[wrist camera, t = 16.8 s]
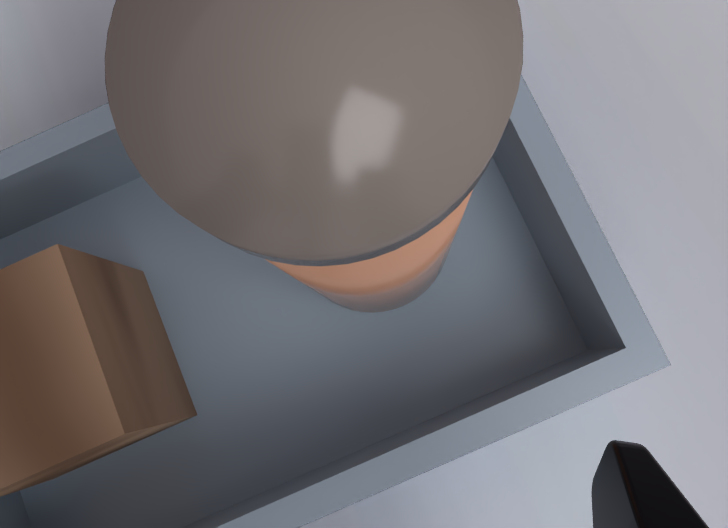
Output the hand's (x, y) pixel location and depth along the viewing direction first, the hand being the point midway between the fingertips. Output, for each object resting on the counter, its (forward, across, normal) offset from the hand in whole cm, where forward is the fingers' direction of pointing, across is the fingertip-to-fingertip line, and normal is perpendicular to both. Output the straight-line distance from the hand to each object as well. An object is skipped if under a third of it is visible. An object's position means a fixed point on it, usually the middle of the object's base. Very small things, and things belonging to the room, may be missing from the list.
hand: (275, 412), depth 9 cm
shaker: (+11, 0, +4) cm, 12 cm away
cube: (+7, +8, +8) cm, 14 cm away
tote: (+10, +4, +6) cm, 12 cm away
